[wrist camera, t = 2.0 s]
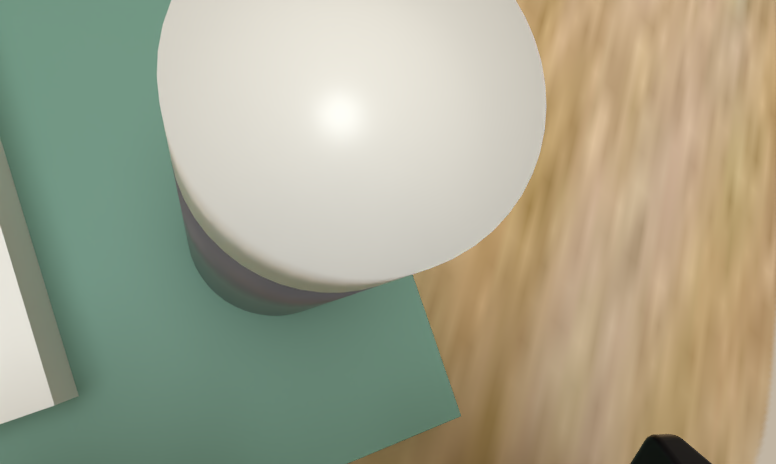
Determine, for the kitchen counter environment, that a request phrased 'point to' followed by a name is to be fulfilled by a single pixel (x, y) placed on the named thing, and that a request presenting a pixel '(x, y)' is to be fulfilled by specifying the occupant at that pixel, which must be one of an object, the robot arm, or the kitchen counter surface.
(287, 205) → the dome-topped cylinder
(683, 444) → the robot arm
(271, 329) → the board
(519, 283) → the kitchen counter surface
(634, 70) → the kitchen counter surface
